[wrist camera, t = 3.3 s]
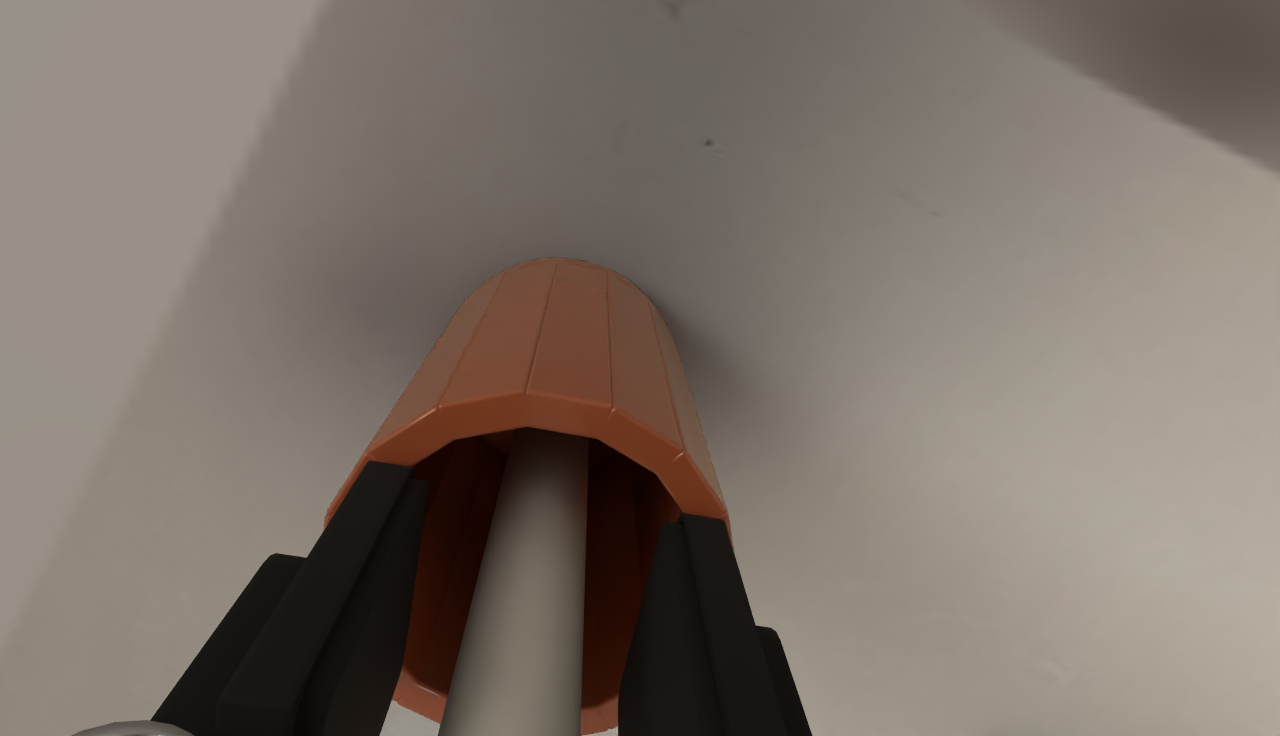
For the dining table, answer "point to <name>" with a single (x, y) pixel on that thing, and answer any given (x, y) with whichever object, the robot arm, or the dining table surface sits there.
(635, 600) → the pen cup
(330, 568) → the robot arm
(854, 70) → the dining table surface
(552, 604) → the stylus
